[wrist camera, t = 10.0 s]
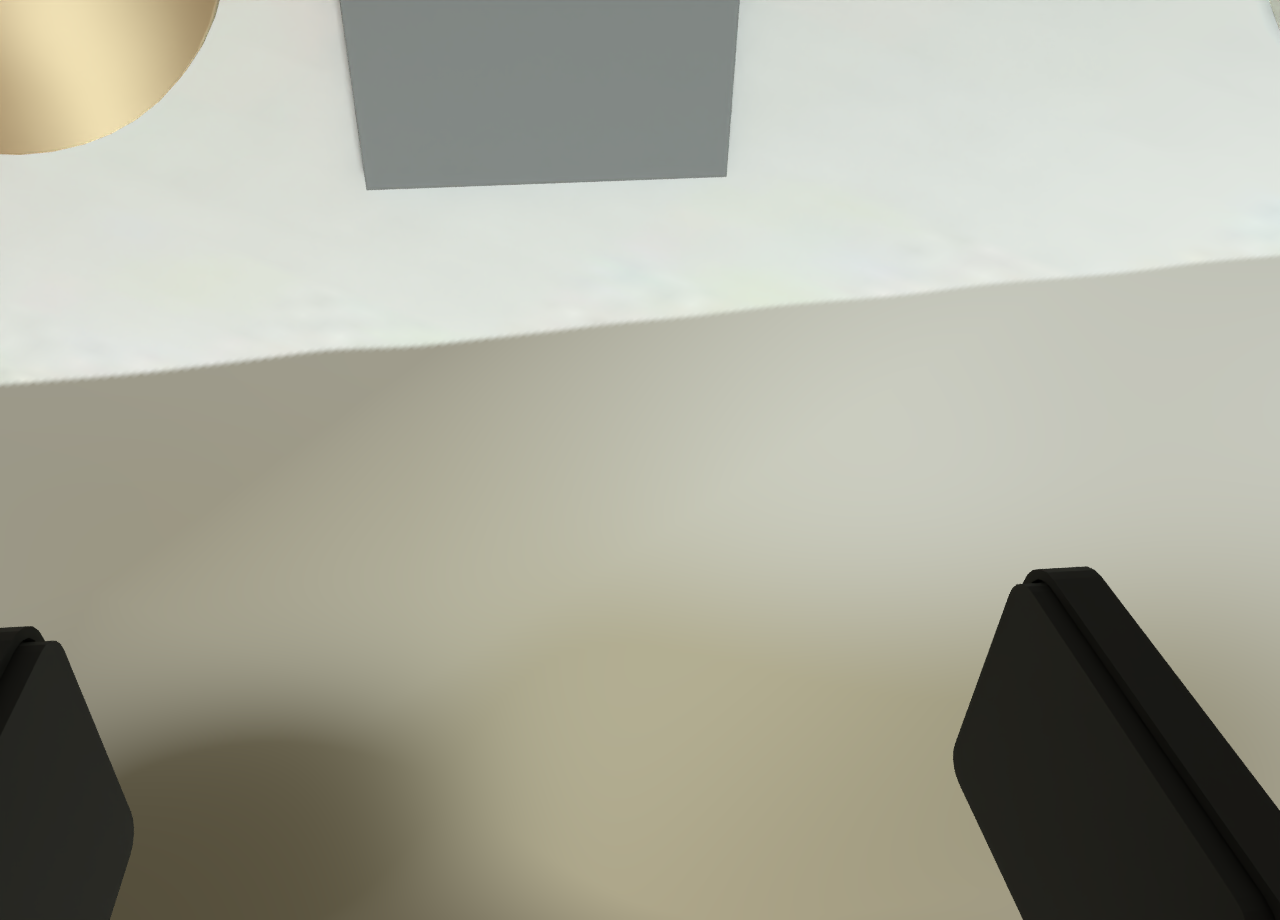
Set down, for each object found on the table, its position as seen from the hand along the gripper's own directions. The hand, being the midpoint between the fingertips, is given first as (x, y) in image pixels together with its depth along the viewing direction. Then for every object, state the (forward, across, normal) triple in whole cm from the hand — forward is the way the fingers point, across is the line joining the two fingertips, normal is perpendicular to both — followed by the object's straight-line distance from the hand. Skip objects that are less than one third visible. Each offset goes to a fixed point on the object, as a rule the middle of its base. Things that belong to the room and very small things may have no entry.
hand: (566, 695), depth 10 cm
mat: (+26, -1, -2) cm, 26 cm away
